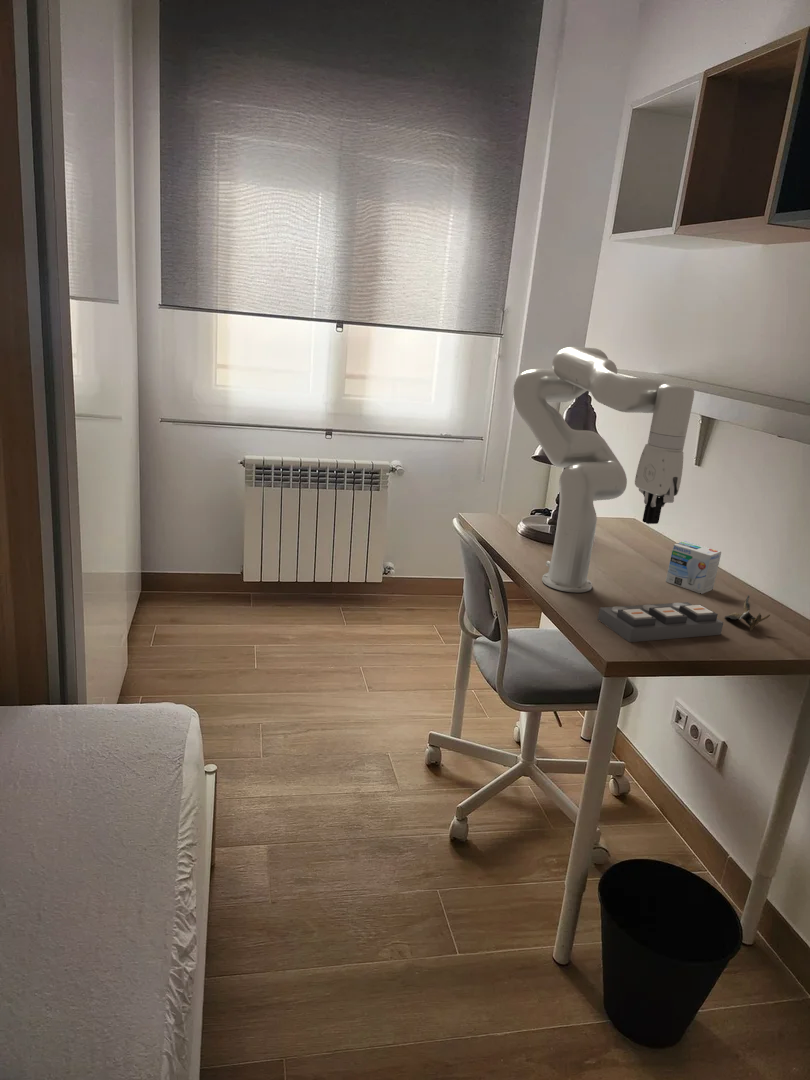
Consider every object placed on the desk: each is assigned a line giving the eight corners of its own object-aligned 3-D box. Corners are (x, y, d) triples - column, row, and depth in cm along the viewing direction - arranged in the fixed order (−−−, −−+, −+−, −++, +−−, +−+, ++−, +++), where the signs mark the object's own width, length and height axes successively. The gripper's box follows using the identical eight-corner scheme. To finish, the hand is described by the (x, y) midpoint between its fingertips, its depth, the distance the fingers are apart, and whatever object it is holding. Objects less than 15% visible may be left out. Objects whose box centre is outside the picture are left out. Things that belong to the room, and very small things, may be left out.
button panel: (597, 619, 177) (600, 601, 176) (685, 613, 186) (689, 595, 185) (629, 642, 167) (633, 622, 165) (720, 634, 176) (725, 615, 174)
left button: (621, 616, 172) (622, 609, 171) (637, 615, 173) (639, 608, 173) (633, 624, 168) (635, 617, 167) (650, 623, 169) (651, 616, 169)
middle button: (652, 615, 175) (654, 607, 174) (668, 614, 176) (670, 606, 176) (665, 623, 171) (667, 615, 170) (681, 621, 173) (683, 614, 172)
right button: (683, 612, 178) (684, 605, 177) (698, 611, 180) (700, 604, 179) (696, 620, 174) (697, 612, 174) (711, 619, 176) (713, 611, 175)
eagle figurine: (773, 627, 180) (750, 605, 188) (768, 605, 176) (745, 584, 184) (744, 642, 180) (722, 620, 188) (738, 621, 177) (716, 599, 184)
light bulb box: (664, 582, 208) (672, 543, 205) (676, 577, 213) (684, 540, 210) (702, 594, 201) (711, 555, 198) (713, 589, 206) (722, 551, 202)
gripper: (630, 434, 174) (616, 513, 179) (674, 448, 160) (657, 533, 166) (658, 435, 176) (643, 513, 182) (703, 449, 163) (686, 532, 169)
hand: (650, 522), depth 174 cm, fingers closed
